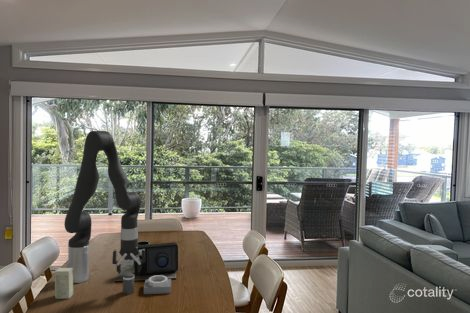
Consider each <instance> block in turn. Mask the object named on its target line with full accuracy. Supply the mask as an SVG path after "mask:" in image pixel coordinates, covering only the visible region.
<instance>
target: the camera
mask: <svg viewBox="0 0 470 313" xmlns="http://www.w3.org/2000/svg"><path fill="white" fill-rule="evenodd" d="M138 249H139V250H142V249H145V258H146V261H145V263H142V264H141V271H140V272H139V273H138V263H137V262H136V261H135V260H134V259H133V260H134V276H143V275H153V274H161V273H173V272H177V271H178V270H179V245H178V243H177V242H175V241H173V242H163V243H162V242H161V243H150V244H138ZM137 255H138V257H139V258H140V260H142V255H141V254H140V253H138V254H137ZM135 259H136V258H135Z"/></svg>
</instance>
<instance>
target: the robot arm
mask: <svg viewBox="0 0 470 313" xmlns="http://www.w3.org/2000/svg"><path fill="white" fill-rule="evenodd" d="M102 151H103V153H104V155H105V156H106V159H107V174H108V175H107V176H108V177H109V178H108V179H109V180H110V182H111V185H112V187H113V189H114V195H115V200H116V204H117V206H118V207H119V209H121V210H123V211H126V212H125V213H124V214H123V215H121V219H120V250H119V249H114V250H113V252H112V265H116V272H117V273H118V274H121V272H122V271H121V269H122V268H121V263H122V262H123V261H124V260H125V261H128V260H129V261H133V260H135V261H136V262H137V263H138V273H139V272H140V271H141V264H142V263H145V261H146V258H145V249H142V250H139V249H138V245H139V239H138V238H139V229H138V216H139V214H140V209H141V205H142V204H141V202H142V201H141V200H142V199H141V197H140V195H139V193H137V192H130V193H129V192H128V189H129V187H130V181H129V179H128V177H127V174H126V173H125V171H124V169H123V166H122V163H121V161H120V157H119V153H118V150H117V147H116V143H115V141H114V137H113V135H112V134H111V133H110V132H109V131H107V130H92V131H89V132H88V133H87V135H86V137H85V140H84V147H83V153H82V160H81V164H80V169H79V171H78V176H77V178H76V182H75V183H76V184H75V188H74V192H73V196H72V199H71V201H70V205H69V207H68V210H67V212H66V216H65V219H64V229H65V231H66V232H67V233H69V234H74V235H73V236H72V237H70V238H69V240H68V245H67V246H68V248H67V253H68V255H67V256H68V258H67V259H68V261H67V262H66V268H73V284H80V283H84V282H86V281H88V280H89V277H90V276H89V275H90V269H89V268H90V240H91V237H92V217H91V215H90V213H89V212H87V211H86V210H85V211H83V210H84V208H85V206H86V205H87V204H88V202H89V201H90V200H91V199H92V197H93V196H94V195H95V193H96V191H97V188H98V184H99V180H100V174H99V173H100V172H99V171H98V168H97V159H98V154H99V152H102ZM138 253H140V254H141V255H142V260H140V258H139V257H138V255H137V254H138ZM119 254H120V258H119V259H118V260H117V256H118V255H119ZM135 258H136V259H135Z"/></svg>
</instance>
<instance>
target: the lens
mask: <svg viewBox="0 0 470 313" xmlns="http://www.w3.org/2000/svg"><path fill="white" fill-rule="evenodd" d="M134 292H135V273H132V272H129V273H128V272H127V273H124V274H122V294H123V295H126V296H127V295H132V294H134Z"/></svg>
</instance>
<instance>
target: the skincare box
mask: <svg viewBox="0 0 470 313" xmlns="http://www.w3.org/2000/svg"><path fill="white" fill-rule="evenodd" d="M54 294H55V295H54V298H55V299H58V300H60V299H61V300H63V299H71V298H72V296H73V295H74V283H73V268H67V267H58V268H57V269H56V270H54Z"/></svg>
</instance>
